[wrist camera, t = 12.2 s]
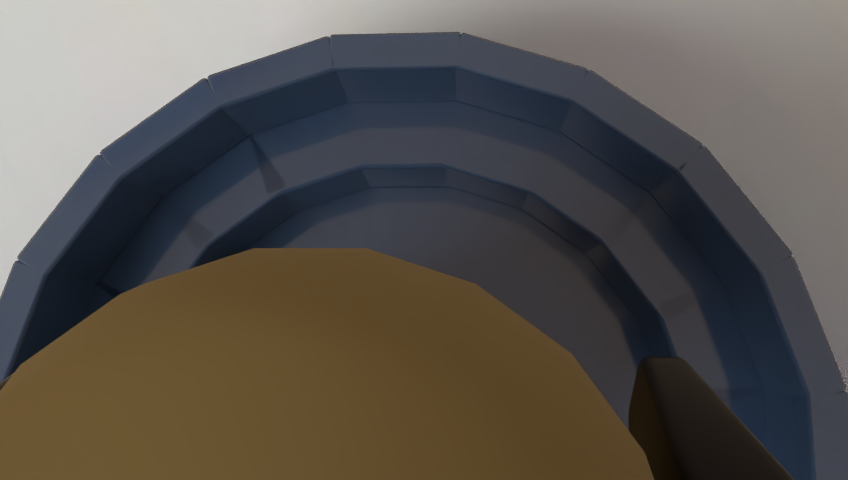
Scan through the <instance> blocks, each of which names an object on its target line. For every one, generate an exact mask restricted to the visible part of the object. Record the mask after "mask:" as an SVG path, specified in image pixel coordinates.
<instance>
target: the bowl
mask: <svg viewBox="0 0 848 480" xmlns="http://www.w3.org/2000/svg"><path fill="white" fill-rule="evenodd" d="M100 154H101V155H97V156H95V157H94V159H93V160H92V161H91V163H90V164H89V165H88V166H87V168H86V169H85V170H84V172H83V173H82V174H81V175H80V177H79V178H78V179H77V181H76V182H75V183H74V184H73V186H72V187H71V188H70V190H69V191H68V192H67V193H66V195H65V196H64V197H63V199H62V200H61V201H60V202H59V204H58V205H57V206H56V208H55V209H54V210H53V211H52V213H51V214H50V215H49V217H48V218H47V219H46V220H45V222H44V223H43V224H42V226H41V227H40V228H39V229H38V231H37V232H36V233H35V235H34V236H33V237H32V238H31V240H30V241H29V242H28V244H27V245H26V246H25V247H24V249H23V250H22V251H21V253H20V254H19V255H18V260H19V261H15V263H14V264H13V267H12V269H11V272H10V274H9V277H8V279H7V282H6V285H5V287H4V290H3V292H2V295H1V297H0V383H1V382H2V381H3V380H5V379H6V378H7V377H9V376H10V375H11V374H13V373H14V372H15V371H16V370H17V369H18V367H19V366H20V365H21V364H22V363H23V362H25V361H26V360H28V359H29V358H31V357H32V356H33V355H35V354H36V353H38V352H39V351H40V350H42V349H43V348H45V347H46V346H47V345H49V344H50V343H52V342H53V341H55V340H56V339H57V338H59V337H60V336H62V335H63V334H64V333H66V332H67V331H69V330H70V329H71V328H73V327H74V326H76V325H77V324H79V323H80V322H81V321H83V320H84V319H86V318H87V317H88V316H90V315H91V314H93V313H94V312H95V311H97V310H98V309H100V308H101V307H103V306H104V305H105V304H107V303H108V302H110V301H111V300H112V299H114V298H115V297H117V296H118V295H120V294H122V293H124V292H126V291H129V290H131V289H133V288H136V287H138V286H140V285H143V284H145V283H148V282H151V281H154V280H157V279H160V278H163V277H166V276H169V275H172V274H176V273H179V272H182V271H185V270H188V269H191V268H194V267H197V266H200V265H203V264H207V263H210V262H213V261H216V260H219V259H222V258H225V257H228V256H231V255H234V254H238V253H241V252H244V251H247V250H250V249H253V248H368V249H371V250H374V251H377V252H380V253H383V254H386V255H389V256H392V257H395V258H398V259H401V260H404V261H407V262H411V263H414V264H417V265H420V266H423V267H426V268H429V269H432V270H435V271H438V272H441V273H444V274H447V275H450V276H453V277H456V278H459V279H463V280H466V281H469V282H472V283H475V284H477V285H478V286H479V287H481V288H482V289H484V290H485V291H486V292H488V293H489V294H490V295H492V296H493V297H495V298H496V299H497V300H499V301H500V302H501V303H503V304H504V305H506V306H507V307H508V308H510V309H511V310H512V311H514V312H515V313H517V314H518V315H519V316H521V317H522V318H523V319H525V320H526V321H528V322H529V323H530V324H532V325H533V326H535V327H536V328H537V329H539V330H540V331H541V332H543V333H544V334H546V335H547V336H548V337H550V338H551V339H552V340H554V341H555V342H557V343H558V344H559V345H561V346H562V347H563V348H565V349H566V350H568V351H569V352H570V353H572V355H573V356H574V357H575V359H576V360H577V361H578V363H579V364H580V366H581V367H582V368H583V370H584V371H585V372H586V374H587V375H588V376H589V378H590V379H591V380H592V382H593V383H594V384H595V386H596V387H597V389H598V390H599V391H600V393H601V394H602V395H603V397H604V398H605V399H606V401H607V402H608V403H609V405H610V406H611V407H612V409H613V410H614V412H615V413H616V414H617V416H618V417H619V418H620V420H621V421H622V422H623V424H624V425H625V426H626V428H627V429H628V430H629V425H628V415H629V406H630V401H631V396H632V392H633V387H634V382H635V377H636V373H637V368H638V364H639V362H640V360H641V359H642V358H644V357H646V356H673V357H680V358H682V359H684V360H685V361H686V362H687V363H688V364H689V365H690V366H691V367H692V368H693V369H694V370H695V371H696V372H697V373H698V375H699V376H700V377H701V378H702V379H703V380H704V381H705V382H706V383H707V384H708V385H709V387H710V388H711V389H712V390H713V391H714V392H715V393H716V394H717V395H718V396H719V397H720V399H721V400H722V401H723V402H724V403H725V404H726V405H727V406H728V407H729V408H730V409H731V411H732V412H733V413H734V414H735V415H736V416H737V417H738V418H739V419H740V420H741V421H742V423H743V424H744V425H745V426H746V427H747V428H748V429H749V430H750V431H751V432H752V433H753V435H754V436H755V437H756V438H757V439H758V440H759V441H760V442H761V443H762V444H763V445H764V447H765V448H766V449H767V450H768V451H769V452H770V453H771V454H772V455H773V456H774V457H775V458H776V460H777V461H778V462H779V463H780V464H781V465H782V466H783V467H784V468H785V469H786V470H787V472H788V473H789V474H790V475H791V476H792V477H793V478H794V479H795V480H848V393H847V392H845V390H846V386H845V383H844V381H843V378H842V376H841V373H840V371H839V368H838V366H837V363H836V361H835V358H834V356H833V353H832V351H831V348H830V346H829V343H828V341H827V338H826V336H825V333H824V331H823V328H822V326H821V323H820V321H819V318H818V316H817V313H816V311H815V308H814V306H813V303H812V301H811V298H810V296H809V293H808V291H807V288H806V286H805V283H804V281H803V278H802V276H801V273H800V271H799V268H798V266H797V263H796V261H795V259H794V258H793V257H792V256H791V255H792V252H791V251H790V249H789V248H788V247H787V246H786V245H785V243H784V242H783V241H782V240H781V238H780V237H779V236H778V235H777V233H776V232H775V231H774V230H773V229H772V227H771V226H770V225H769V224H768V222H767V221H766V220H765V219H764V218H763V216H762V215H761V214H760V213H759V211H758V210H757V209H756V208H755V207H754V205H753V204H752V203H751V202H750V200H749V199H748V198H747V197H746V196H745V194H744V193H743V192H742V191H741V189H740V188H739V187H738V186H737V185H736V183H735V182H734V181H733V180H732V178H731V177H730V176H729V175H728V173H727V172H726V171H725V170H724V169H723V167H722V166H721V165H720V164H719V162H718V161H717V160H716V159H715V158H714V156H713V155H712V154H711V153H710V151H709V150H708V149H707V148H706V147H705V146H702V143H701V142H699V141H698V140H696V139H695V138H693V137H692V136H690V135H689V134H687V133H686V132H684V131H683V130H681V129H680V128H678V127H677V126H675V125H673V124H672V123H670V122H669V121H667V120H666V119H664V118H663V117H661V116H660V115H658V114H657V113H655V112H654V111H652V110H651V109H649V108H648V107H646V106H645V105H643V104H642V103H640V102H639V101H637V100H636V99H634V98H633V97H631V96H630V95H628V94H626V93H625V92H623V91H622V90H620V89H619V88H617V87H616V86H614V85H613V84H611V83H610V82H608V81H607V80H605V79H604V78H602V77H601V76H599V75H598V74H596V73H595V72H593V71H591V70H589V71H588V69H586V68H584V67H580V66H577V65H573V64H570V63H566V62H563V61H559V60H556V59H553V58H549V57H546V56H542V55H539V54H535V53H532V52H528V51H525V50H521V49H518V48H514V47H511V46H507V45H504V44H500V43H497V42H494V41H490V40H487V39H483V38H480V37H476V36H473V35H469V34H466V33H462V34H460V32H434V33H387V34H340V35H331V36H330V37H323V38H320V39H317V40H314V41H311V42H308V43H305V44H302V45H299V46H296V47H293V48H290V49H287V50H284V51H281V52H278V53H275V54H272V55H269V56H266V57H263V58H260V59H257V60H254V61H251V62H248V63H245V64H242V65H239V66H236V67H233V68H230V69H227V70H224V71H221V72H218V73H215V74H212V75H209V76H208V79H206V78H204V79H201V80H200V81H199V82H197V83H196V84H194V85H193V86H192V87H190V88H189V89H187V90H186V91H184V92H183V93H182V94H180V95H179V96H177V97H176V98H175V99H173V100H172V101H170V102H169V103H168V104H166V105H165V106H163V107H162V108H161V109H159V110H158V111H156V112H155V113H153V114H152V115H151V116H149V117H148V118H146V119H145V120H144V121H142V122H141V123H139V124H138V125H137V126H135V127H134V128H132V129H131V130H130V131H128V132H127V133H125V134H124V135H122V136H121V137H120V138H118V139H117V140H115V141H114V142H113V143H111V144H110V145H108V146H107V147H106V148H104V149H103V150H102V151H101V152H100Z"/></svg>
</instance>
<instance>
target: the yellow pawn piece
mask: <svg viewBox="0 0 848 480" xmlns="http://www.w3.org/2000/svg"><path fill="white" fill-rule="evenodd" d="M0 480H654V477H653V474H652V472H651V469H650V466H649V463H648V460H647V457H646V454H645V452H644V451H643V449H642V448H641V447H640V445H639V444H638V443H637V441H636V440H635V439H634V437H633V436H632V435H631V433H630V432H629V430H628V429H627V428H626V426H625V425H624V424H623V422H622V421H621V420H620V418H619V417H618V416H617V414H616V413H615V412H614V410H613V409H612V407H611V406H610V405H609V403H608V402H607V401H606V399H605V398H604V397H603V395H602V394H601V393H600V391H599V390H598V389H597V387H596V386H595V384H594V383H593V382H592V380H591V379H590V378H589V376H588V375H587V374H586V372H585V371H584V370H583V368H582V367H581V366H580V364H579V363H578V361H577V360H576V359H575V357H574V356H573V355H572V353H570V352H569V351H568V350H566V349H565V348H563V347H562V346H561V345H559V344H558V343H557V342H555V341H554V340H552V339H551V338H550V337H548V336H547V335H546V334H544V333H543V332H541V331H540V330H539V329H537V328H536V327H535V326H533V325H532V324H530V323H529V322H528V321H526V320H525V319H523V318H522V317H521V316H519V315H518V314H517V313H515V312H514V311H512V310H511V309H510V308H508V307H507V306H506V305H504V304H503V303H501V302H500V301H499V300H497V299H496V298H495V297H493V296H492V295H490V294H489V293H488V292H486V291H485V290H484V289H482V288H481V287H479V286H478V285H477V284H475V283H472V282H469V281H466V280H463V279H459V278H456V277H453V276H450V275H447V274H444V273H441V272H438V271H435V270H432V269H429V268H426V267H423V266H420V265H417V264H414V263H411V262H407V261H404V260H401V259H398V258H395V257H392V256H389V255H386V254H383V253H380V252H377V251H374V250H371V249H368V248H253V249H250V250H247V251H244V252H241V253H238V254H234V255H231V256H228V257H225V258H222V259H219V260H216V261H213V262H210V263H207V264H203V265H200V266H197V267H194V268H191V269H188V270H185V271H182V272H179V273H176V274H172V275H169V276H166V277H163V278H160V279H157V280H154V281H151V282H148V283H145V284H143V285H140V286H138V287H136V288H133V289H131V290H129V291H126V292H124V293H122V294H120V295H118V296H117V297H115V298H114V299H112V300H111V301H110V302H108V303H107V304H105V305H104V306H103V307H101V308H100V309H98V310H97V311H95V312H94V313H93V314H91V315H90V316H88V317H87V318H86V319H84V320H83V321H81V322H80V323H79V324H77V325H76V326H74V327H73V328H71V329H70V330H69V331H67V332H66V333H64V334H63V335H62V336H60V337H59V338H57V339H56V340H55V341H53V342H52V343H50V344H49V345H47V346H46V347H45V348H43V349H42V350H40V351H39V352H38V353H36V354H35V355H33V356H32V357H31V358H29V359H28V360H26V361H25V362H23V363H22V364H21V365H20V366H19V367H18V369H17V370H16V371H15V372H14V374H13V375H12V376H11V378H10V379H9V380H8V381H7V383H6V384H5V385H4V387H3V388H2V389H1V390H0Z"/></svg>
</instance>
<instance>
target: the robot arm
mask: <svg viewBox="0 0 848 480" xmlns="http://www.w3.org/2000/svg"><path fill="white" fill-rule="evenodd" d="M13 374H14V373H13ZM13 374H11V375H10V376H9V377H7V378H6V379H5V380H3V381H2V382H1V383H0V390H1V389H2V388H3V387H4V385H5V384H6V383H7V381H8V380H9V379H10V378H11V376H12V375H13ZM628 425H629V432H630V433H631V435H632V436H633V437H634V439H635V440H636V441H637V443H638V444H639V445H640V447H641V448H642V449H643V451H644V452H645V454H646V457H647V460H648V463H649V466H650V469H651V472H652V474H653V477H654V480H795V479H794V478H793V477H792V476H791V475H790V474H789V473H788V472H787V470H786V469H785V468H784V467H783V466H782V465H781V464H780V463H779V462H778V461H777V460H776V458H775V457H774V456H773V455H772V454H771V453H770V452H769V451H768V450H767V449H766V448H765V447H764V445H763V444H762V443H761V442H760V441H759V440H758V439H757V438H756V437H755V436H754V435H753V433H752V432H751V431H750V430H749V429H748V428H747V427H746V426H745V425H744V424H743V423H742V421H741V420H740V419H739V418H738V417H737V416H736V415H735V414H734V413H733V412H732V411H731V409H730V408H729V407H728V406H727V405H726V404H725V403H724V402H723V401H722V400H721V399H720V397H719V396H718V395H717V394H716V393H715V392H714V391H713V390H712V389H711V388H710V387H709V385H708V384H707V383H706V382H705V381H704V380H703V379H702V378H701V377H700V376H699V375H698V373H697V372H696V371H695V370H694V369H693V368H692V367H691V366H690V365H689V364H688V363H687V362H686V361H685V360H684V359H682V358H680V357H673V356H646V357H644V358H642V359H641V360H640V362H639V364H638V368H637V373H636V377H635V382H634V387H633V392H632V396H631V401H630V406H629V415H628Z"/></svg>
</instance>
